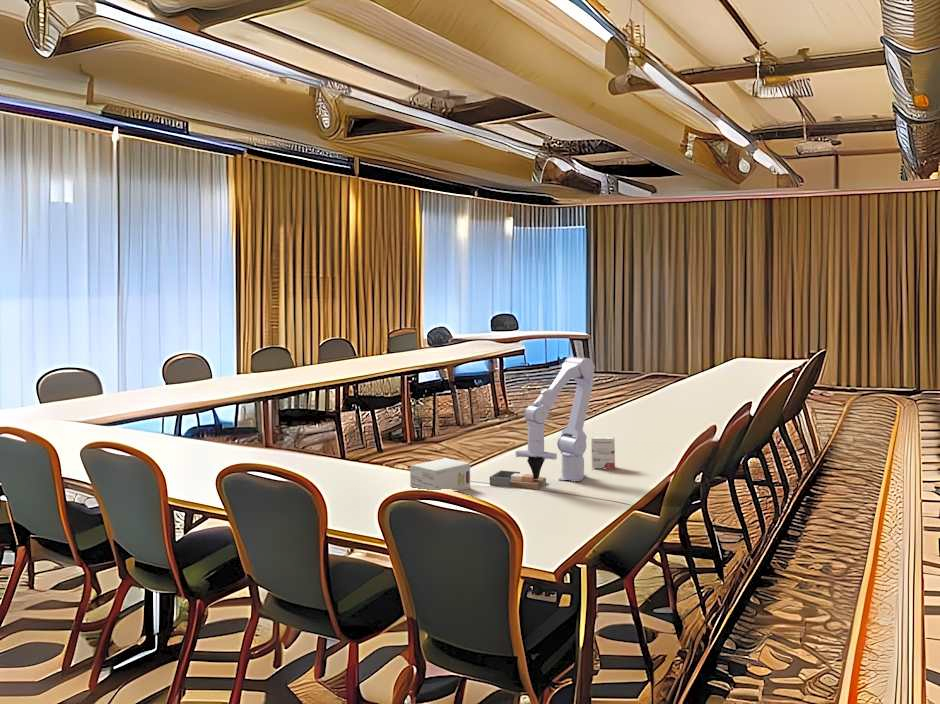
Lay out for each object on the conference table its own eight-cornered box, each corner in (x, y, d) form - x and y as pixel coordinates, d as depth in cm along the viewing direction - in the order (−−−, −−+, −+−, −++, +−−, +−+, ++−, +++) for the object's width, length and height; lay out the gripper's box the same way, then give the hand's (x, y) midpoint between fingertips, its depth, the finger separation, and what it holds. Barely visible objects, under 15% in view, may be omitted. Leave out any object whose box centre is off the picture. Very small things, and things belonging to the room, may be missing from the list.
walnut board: (519, 480, 308) (519, 475, 308) (546, 482, 304) (545, 477, 303) (509, 486, 299) (509, 481, 298) (536, 489, 295) (536, 484, 294)
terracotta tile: (525, 478, 303) (525, 474, 303) (536, 479, 301) (536, 474, 301) (521, 481, 299) (521, 476, 299) (532, 481, 298) (532, 477, 297)
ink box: (615, 467, 327) (615, 436, 326) (614, 469, 322) (614, 439, 321) (592, 466, 329) (592, 436, 328) (591, 469, 324) (591, 438, 323)
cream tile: (514, 477, 304) (514, 473, 304) (525, 478, 303) (525, 474, 303) (510, 480, 301) (510, 475, 301) (521, 481, 299) (521, 476, 299)
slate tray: (500, 478, 311) (500, 470, 311) (520, 480, 308) (520, 471, 308) (489, 485, 302) (489, 476, 301) (509, 486, 299) (509, 478, 298)
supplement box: (435, 498, 286) (434, 470, 285) (409, 491, 296) (409, 464, 295) (471, 488, 298) (471, 462, 297) (445, 482, 307) (445, 457, 306)
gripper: (512, 440, 297) (512, 479, 298) (552, 443, 291) (552, 482, 292) (519, 437, 304) (519, 474, 305) (558, 439, 298) (558, 477, 299)
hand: (536, 478), depth 299 cm, fingers closed
